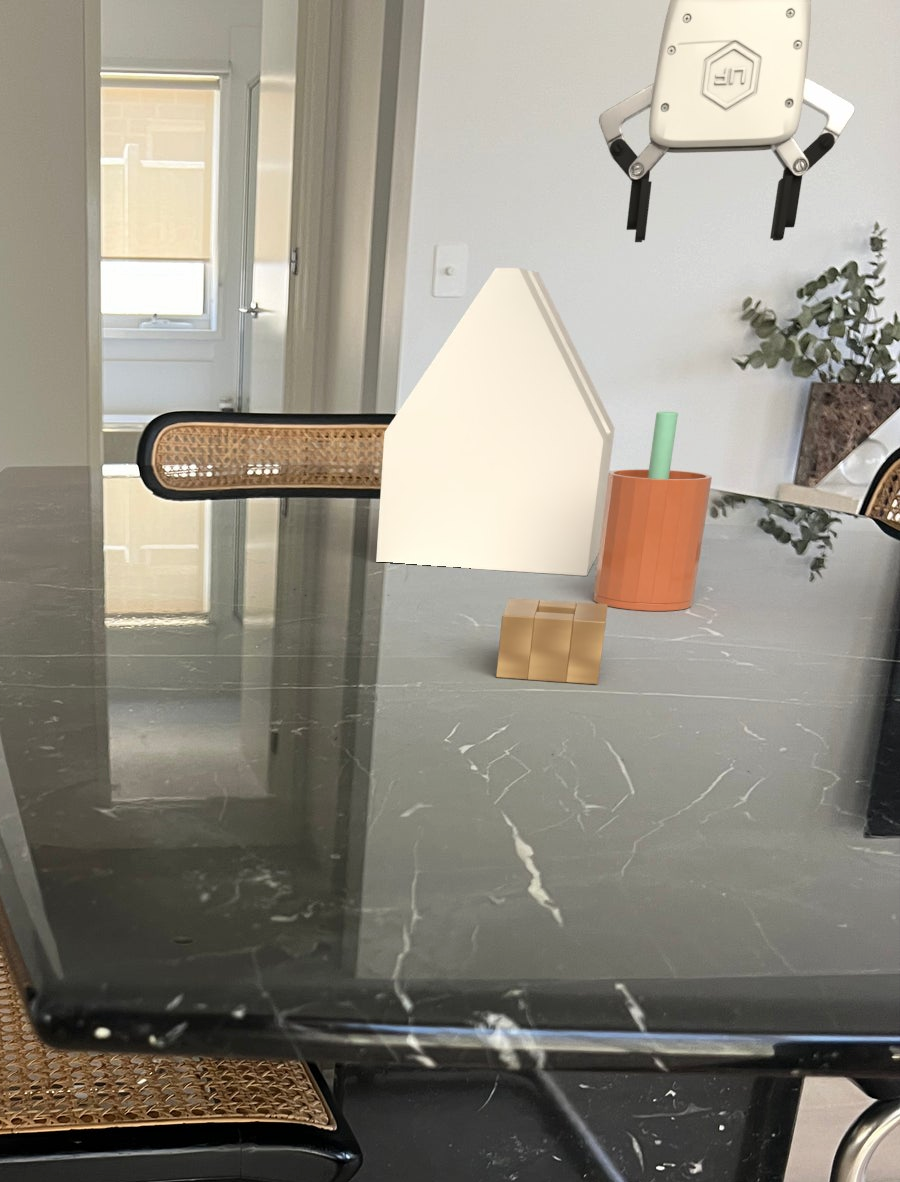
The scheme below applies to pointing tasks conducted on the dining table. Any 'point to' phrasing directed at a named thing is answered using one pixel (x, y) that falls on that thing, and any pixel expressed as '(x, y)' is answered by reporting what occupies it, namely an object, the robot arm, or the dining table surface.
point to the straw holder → (551, 641)
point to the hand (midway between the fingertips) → (707, 240)
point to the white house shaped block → (499, 445)
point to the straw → (662, 445)
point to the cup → (651, 540)
